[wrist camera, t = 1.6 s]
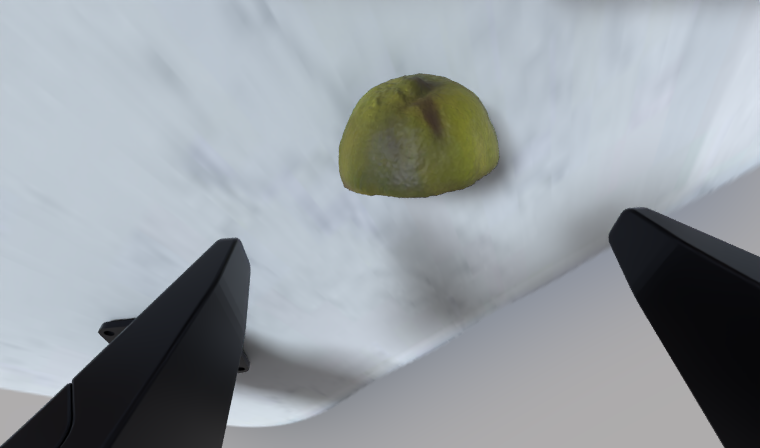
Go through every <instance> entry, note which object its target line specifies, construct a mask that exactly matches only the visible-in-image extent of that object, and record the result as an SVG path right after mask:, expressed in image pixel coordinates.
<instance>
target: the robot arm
mask: <svg viewBox="0 0 760 448" xmlns="http://www.w3.org/2000/svg"><path fill="white" fill-rule="evenodd" d="M609 243H610V245H611V247H612V250H613V252H614V254H615V256H616V258H617V260H618V262H619V265H620V267H621V269H622V271H623V273H624V275H625V278H626V280H627V282H628V284H629V286H630V288H631V290H632V292H633V294H634V296H635V298H636V300H637V302H638V303H639V305H640V307H641V308H642V310H643V312H644V314H645V315H646V317H647V319H648V320H649V322H650V324H651V325H652V327H653V329H654V330H655V332H656V334H657V335H658V337H659V339H660V340H661V342H662V344H663V345H664V347H665V349H666V351H667V352H668V354H669V356H670V357H671V359H672V361H673V362H674V364H675V366H676V367H677V369H678V370H679V372H680V374H681V376H682V377H683V379H684V381H685V382H686V384H687V386H688V387H689V389H690V391H691V392H692V394H693V396H694V398H695V399H696V401H697V402H698V404H699V406H700V407H701V409H702V411H703V413H704V414H705V416H706V417H707V419H708V421H709V423H710V424H711V426H712V428H713V429H714V431H715V433H716V434H717V436H718V438H719V439H720V441H721V443H722V445H723V446H724V448H760V257H759V256H756V255H754V254H752V253H749V252H747V251H745V250H743V249H740V248H738V247H736V246H733V245H731V244H729V243H726V242H724V241H722V240H720V239H717V238H715V237H713V236H710V235H708V234H706V233H704V232H701V231H699V230H697V229H694V228H692V227H690V226H687V225H685V224H683V223H680V222H678V221H676V220H674V219H671V218H669V217H667V216H664V215H662V214H660V213H657V212H655V211H653V210H651V209H648V208H645V207H637V208H628V209H625V210H624V211H623V212H622V213H621V215H620V216H619V218H618V219H617V221H616V223H615V224H614V226H613V228H612V229H611V231H610V233H609ZM249 284H250V263H249V260H248V258H247V255H246V252H245V250H244V247H243V245H242V242H241V241H240V239H238V238H225V239H219V240H218V241H216V242H215V243H214V244H213V245H212V246H211V247H210V248H209V249H208V250H207V251H206V252H205V253H204V254H203V255H202V256H201V257H200V258H199V259H198V260H196V261H195V262H194V263H193V264H192V265H191V266H190V267H189V268H188V269H187V270H186V271H185V272H184V273H183V274H182V275H181V276H180V277H179V278H178V279H177V280H176V281H175V282H173V283H172V284H171V285H170V286H169V287H168V288H167V289H166V290H165V291H164V292H163V293H162V294H161V295H160V296H159V297H158V298H157V299H156V300H155V301H154V302H153V303H152V304H150V305H149V306H148V307H147V308H146V309H145V310H144V311H143V312H142V313H141V314H140V315H139V316H138V317H137V318H136V319H134V320H123V321H112V322H105V323H103V324H102V326H101V327H100V329H99V331H98V333H99V334H100V335H101V336H102V337H103V338H104V339H105V340H106V341H107V342H108V343H109V345H108V346H107V347H106V348H104V349H103V350H102V351H101V352H100V353H99V354H98V355H97V356H96V357H95V358H94V359H93V360H92V361H91V362H90V363H89V364H88V365H87V366H86V367H85V368H84V369H83V370H82V371H80V372H79V373H78V374H77V375H76V376H75V377H74V378H73V380H72V383H69V384H67V385H66V386H65V387H64V388H62V389H61V390H60V391H59V392H58V393H57V394H56V395H55V396H54V397H53V398H52V399H51V400H50V401H49V402H48V403H47V404H46V405H45V406H44V407H43V408H41V409H40V410H39V411H38V412H37V413H36V414H35V415H34V416H33V417H32V418H31V419H30V420H28V421H27V422H26V424H24V425H23V426H22V427H21V428H20V429H19V430H18V431H17V432H16V433H15V434H13V435H12V436H11V437H10V438H9V439H8V440H7V441H6V442H5V443H3V444H2V445H1V446H0V448H222V444H223V439H224V434H225V429H226V424H227V420H228V415H229V410H230V405H231V400H232V396H233V391H234V386H235V381H236V376H237V373H243V372H247V371H248V370H249V366H250V362H249V360H248V359H247V357H246V355H245V353H244V351H243V350H242V348H243V343H244V337H245V330H246V319H247V308H248V296H249Z"/></svg>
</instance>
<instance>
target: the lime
mask: <svg viewBox="0 0 760 448" xmlns="http://www.w3.org/2000/svg"><path fill="white" fill-rule="evenodd" d="M498 160H499V148H498V141H497V135H496V132H495V130H494V127H493V125H492V124H491V122H490V119H489V117H488V113H487V111H486V109H485V107H484V106H483V104H482V102H481V101H480V100H479V98H478V97H477V96H476V95H475V94H474V93H473V92H472V91H470V90H469V89H467V88H466V87H464V86H462V85H461V84H459V83H457V82H454V81H452V80H450V79H448V78H446V77H441V76H436V75H430V74H420V73H419V74H415V75H409V76H403V77H399V78H396V79H391V80H389V81H387V82H385V83H382V84H380V85H378V86H375V87H374V88H372V89H370V90H369V91H368V92H367V93H366V94H365V95H364V96H363V97H362V98H361V99H360V100H359V102H358V103H357V105H356V107H355V108H354V110H353V112H352V114H351V116H350V118H349V121H348V123H347V125H346V128H345V130H344V133H343V136H342V139H341V142H340V146H339V172H340V176H341V179H342V182H343V185H344V187H345V188H347V189H349V190H351V191H353V192H356V193H360V194H365V195H369V196H374V195H383V196H389V197H390V196H393V197H398V198H421V197H423V198H426V197H429V196H437V195H440V194H443V193H446V192H452V191H456V190H461V189H465V188H466V187H469V186H472V185H473V184H475V182H476V181H478V180H480V179H481V178H482V177H483V176H486V175H487V174H489V173H490V172H491V171H492V170H493V169H494V168H495V167H496V166H497V164H498Z"/></svg>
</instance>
